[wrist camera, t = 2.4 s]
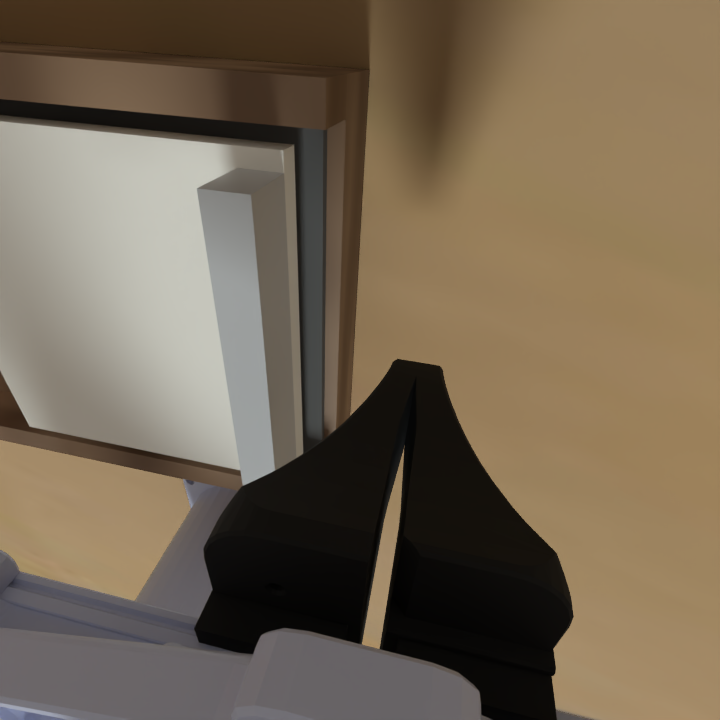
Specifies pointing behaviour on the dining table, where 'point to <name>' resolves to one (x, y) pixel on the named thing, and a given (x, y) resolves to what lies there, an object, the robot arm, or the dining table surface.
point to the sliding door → (152, 290)
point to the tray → (230, 103)
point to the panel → (308, 219)
